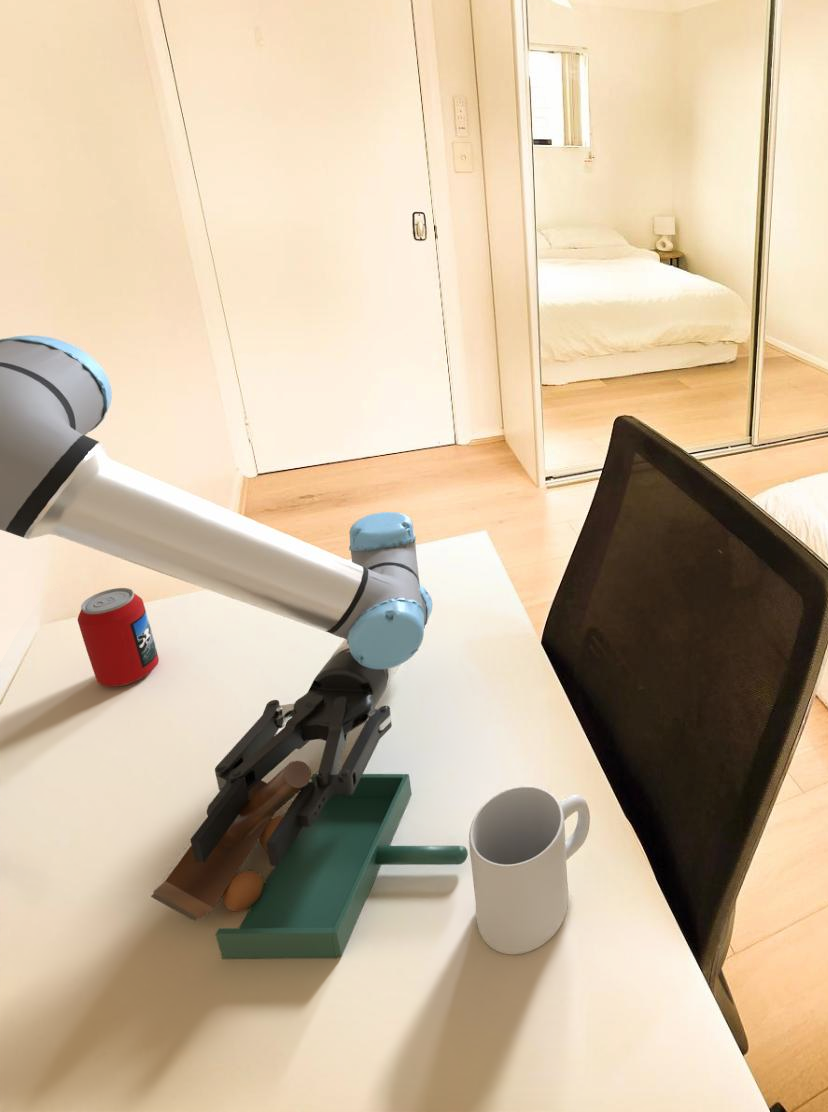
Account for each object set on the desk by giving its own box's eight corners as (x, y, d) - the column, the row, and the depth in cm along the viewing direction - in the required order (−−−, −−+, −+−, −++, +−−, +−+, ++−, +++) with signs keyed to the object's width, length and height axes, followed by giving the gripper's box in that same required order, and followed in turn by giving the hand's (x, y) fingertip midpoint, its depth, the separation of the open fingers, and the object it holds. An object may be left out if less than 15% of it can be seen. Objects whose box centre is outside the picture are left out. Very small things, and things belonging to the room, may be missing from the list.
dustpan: (222, 959, 61) (214, 934, 60) (317, 795, 77) (313, 773, 76) (441, 957, 62) (437, 932, 61) (490, 795, 78) (488, 773, 77)
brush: (146, 897, 62) (236, 816, 59) (230, 785, 73) (308, 711, 70) (195, 925, 63) (285, 846, 60) (270, 810, 74) (348, 739, 71)
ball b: (268, 829, 69) (289, 851, 70) (288, 803, 72) (309, 824, 73) (246, 841, 70) (267, 863, 70) (267, 815, 73) (288, 836, 73)
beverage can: (169, 669, 95) (149, 595, 91) (109, 698, 90) (85, 621, 86) (147, 651, 99) (127, 579, 95) (89, 678, 93) (65, 603, 89)
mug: (507, 978, 60) (499, 888, 57) (460, 907, 66) (450, 822, 62) (614, 885, 69) (613, 801, 65) (564, 829, 74) (561, 750, 70)
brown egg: (230, 888, 63) (254, 911, 64) (254, 857, 66) (277, 880, 67) (207, 901, 64) (231, 924, 65) (232, 870, 67) (255, 892, 68)
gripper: (438, 703, 84) (346, 888, 62) (282, 695, 84) (135, 878, 62) (434, 652, 82) (338, 825, 60) (274, 644, 81) (117, 815, 59)
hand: (235, 852), depth 61 cm, fingers closed on brush, 6 cm apart
